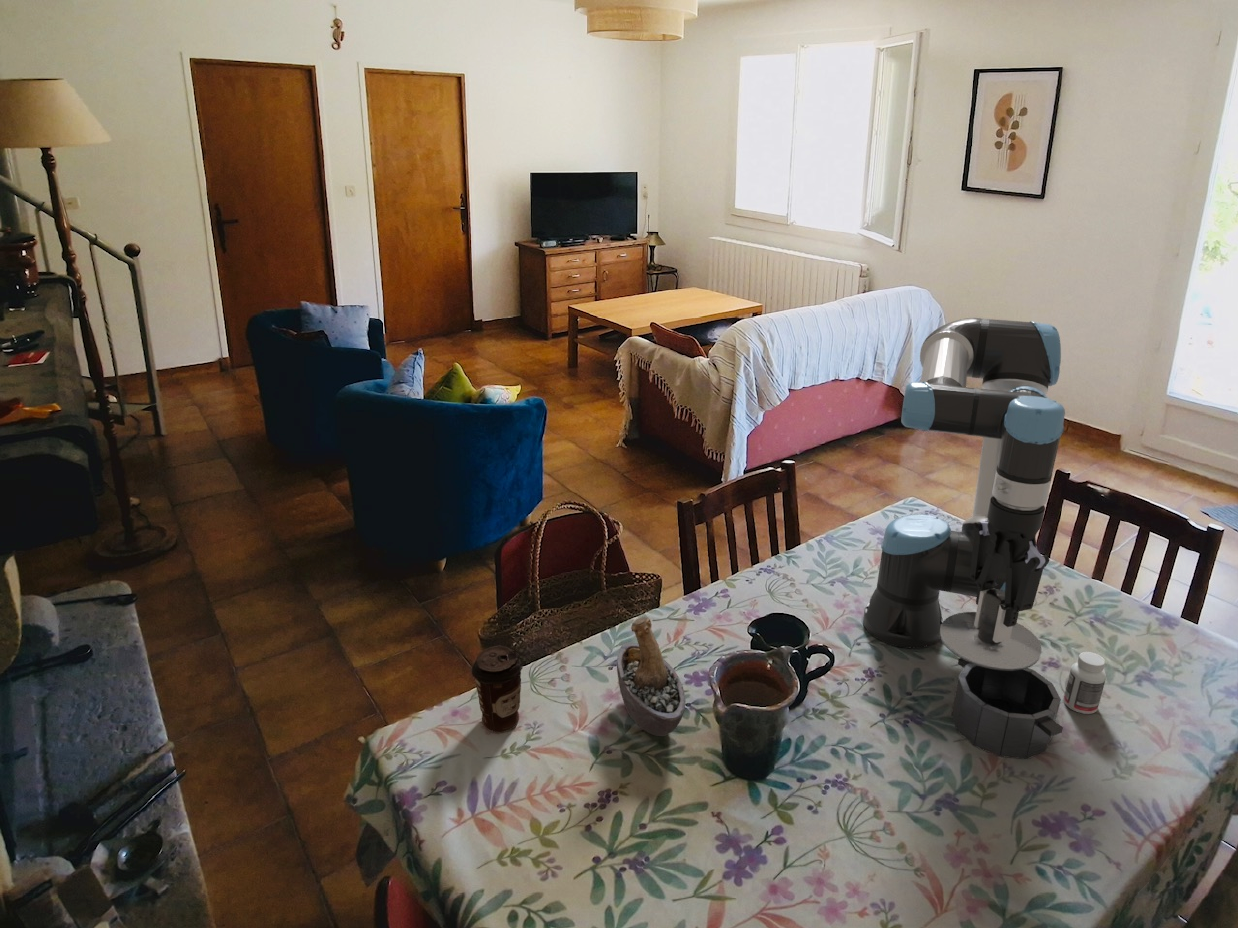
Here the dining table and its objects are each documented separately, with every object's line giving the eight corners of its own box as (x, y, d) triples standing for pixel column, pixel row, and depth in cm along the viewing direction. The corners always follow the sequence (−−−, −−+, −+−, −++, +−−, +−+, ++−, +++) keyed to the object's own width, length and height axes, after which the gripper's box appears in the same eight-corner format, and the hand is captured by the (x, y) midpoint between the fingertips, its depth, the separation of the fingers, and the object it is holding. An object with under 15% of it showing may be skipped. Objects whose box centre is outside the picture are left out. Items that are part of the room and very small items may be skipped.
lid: (919, 629, 140) (927, 579, 136) (992, 613, 145) (1002, 564, 141) (983, 683, 127) (994, 630, 123) (1061, 663, 132) (1074, 611, 128)
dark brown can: (536, 713, 146) (532, 650, 140) (510, 743, 139) (506, 679, 134) (493, 699, 149) (488, 638, 144) (466, 728, 142) (460, 665, 137)
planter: (628, 679, 154) (627, 585, 146) (711, 708, 146) (716, 611, 138) (585, 727, 142) (582, 627, 134) (673, 762, 135) (676, 659, 127)
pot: (924, 701, 148) (930, 663, 145) (990, 680, 153) (997, 644, 150) (1011, 779, 131) (1021, 738, 128) (1083, 753, 136) (1093, 713, 133)
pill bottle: (1103, 707, 146) (1116, 661, 142) (1086, 719, 143) (1099, 672, 140) (1073, 690, 150) (1085, 645, 146) (1056, 701, 148) (1067, 655, 144)
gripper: (959, 482, 132) (937, 609, 141) (1040, 528, 117) (1010, 667, 126) (998, 475, 134) (974, 601, 143) (1082, 520, 120) (1050, 657, 129)
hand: (991, 632), depth 135 cm, fingers closed on lid, 4 cm apart
